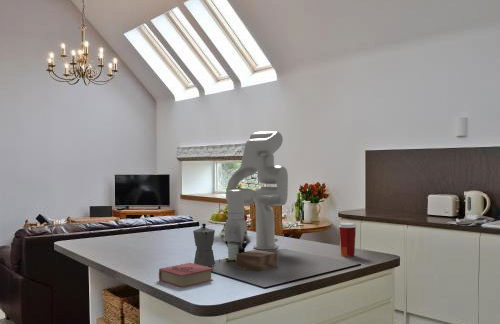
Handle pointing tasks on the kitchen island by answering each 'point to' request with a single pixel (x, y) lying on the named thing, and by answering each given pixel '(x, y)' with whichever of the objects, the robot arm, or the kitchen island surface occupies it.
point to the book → (185, 275)
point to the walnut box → (256, 260)
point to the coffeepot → (204, 246)
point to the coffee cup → (347, 239)
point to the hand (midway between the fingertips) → (236, 256)
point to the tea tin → (233, 250)
